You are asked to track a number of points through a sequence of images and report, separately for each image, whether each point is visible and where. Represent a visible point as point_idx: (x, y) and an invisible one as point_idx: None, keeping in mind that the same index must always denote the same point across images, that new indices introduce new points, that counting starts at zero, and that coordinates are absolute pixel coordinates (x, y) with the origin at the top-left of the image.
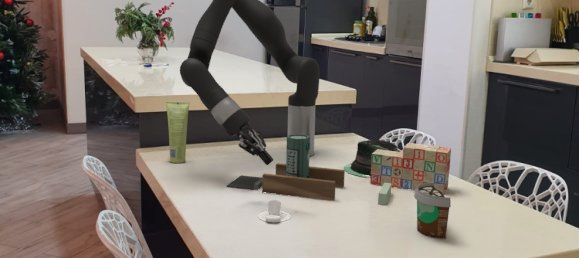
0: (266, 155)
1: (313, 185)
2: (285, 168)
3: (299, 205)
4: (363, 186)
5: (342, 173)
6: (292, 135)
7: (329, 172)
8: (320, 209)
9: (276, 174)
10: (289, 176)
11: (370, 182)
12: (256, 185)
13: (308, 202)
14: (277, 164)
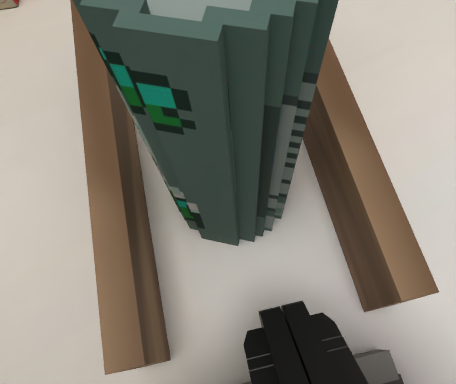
0: (325, 354)
1: None
2: (141, 289)
3: (415, 82)
4: (60, 12)
5: None
6: (147, 23)
7: None
8: (395, 13)
9: (161, 355)
10: (345, 137)
11: (15, 2)
12: (390, 360)
13: (360, 74)
14: (141, 352)
